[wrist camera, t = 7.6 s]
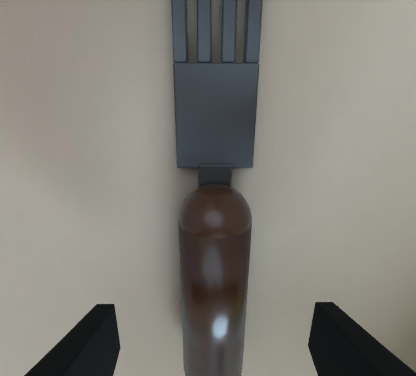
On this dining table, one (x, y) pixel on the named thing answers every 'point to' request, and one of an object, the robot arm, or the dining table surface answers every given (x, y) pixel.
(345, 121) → the dining table surface
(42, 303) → the dining table surface
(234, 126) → the fork
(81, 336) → the robot arm
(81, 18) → the dining table surface
